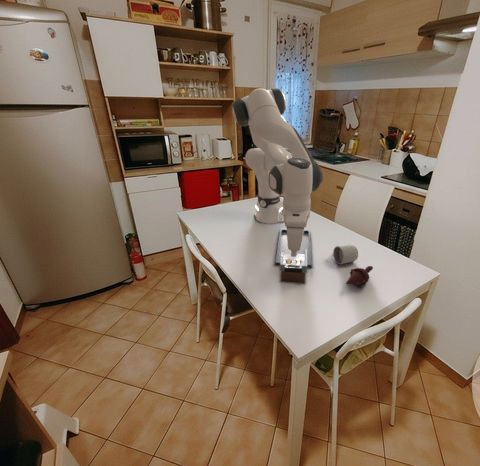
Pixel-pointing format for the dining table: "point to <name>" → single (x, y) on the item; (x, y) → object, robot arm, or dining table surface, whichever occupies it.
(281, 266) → the tip dish
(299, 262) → the key
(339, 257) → the ceramic mug
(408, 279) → the dining table surface
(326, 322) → the dining table surface
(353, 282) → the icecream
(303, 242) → the tray
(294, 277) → the dark brown block
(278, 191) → the robot arm
